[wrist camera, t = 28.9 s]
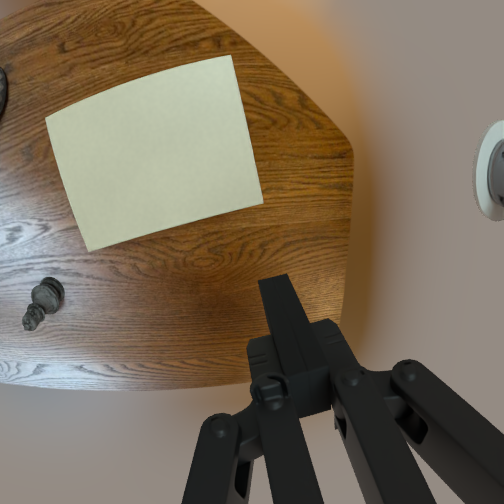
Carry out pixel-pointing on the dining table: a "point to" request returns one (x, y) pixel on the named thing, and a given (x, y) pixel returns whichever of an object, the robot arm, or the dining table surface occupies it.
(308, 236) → the dining table surface
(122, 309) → the dining table surface
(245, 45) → the dining table surface
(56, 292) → the chess piece
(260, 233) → the dining table surface
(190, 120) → the box lid
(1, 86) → the planter
